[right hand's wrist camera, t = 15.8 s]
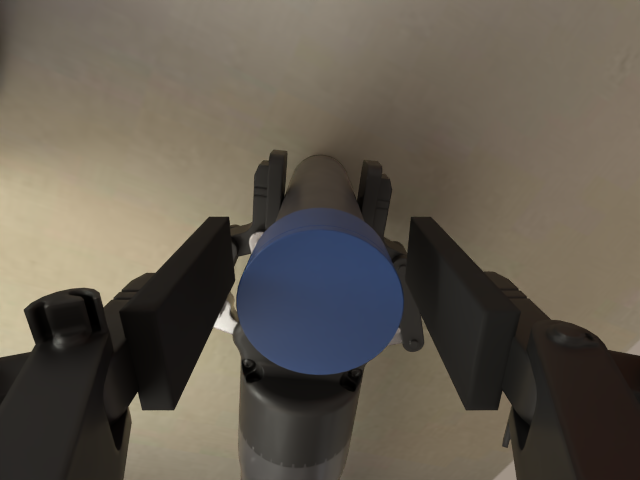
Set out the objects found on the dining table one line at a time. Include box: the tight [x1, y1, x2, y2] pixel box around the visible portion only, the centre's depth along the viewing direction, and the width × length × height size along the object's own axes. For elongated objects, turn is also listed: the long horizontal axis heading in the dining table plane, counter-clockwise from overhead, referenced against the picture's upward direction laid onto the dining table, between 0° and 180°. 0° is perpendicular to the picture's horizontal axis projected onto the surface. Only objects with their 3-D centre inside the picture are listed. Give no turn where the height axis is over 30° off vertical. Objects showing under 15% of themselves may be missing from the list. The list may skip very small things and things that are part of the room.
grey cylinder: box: [275, 155, 365, 222], centre depth 18 cm, size 4×4×16 cm
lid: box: [236, 208, 404, 375], centre depth 11 cm, size 5×5×2 cm
